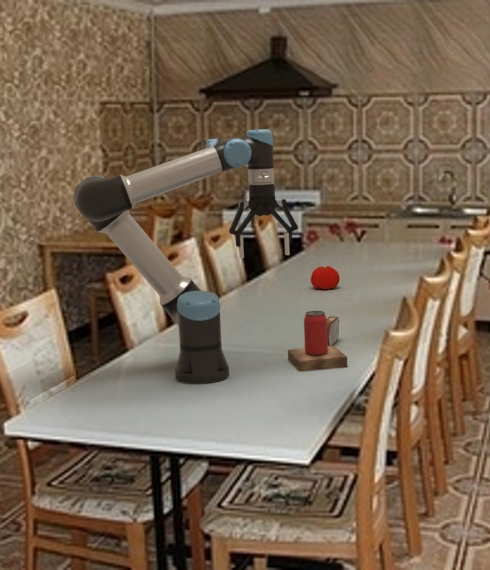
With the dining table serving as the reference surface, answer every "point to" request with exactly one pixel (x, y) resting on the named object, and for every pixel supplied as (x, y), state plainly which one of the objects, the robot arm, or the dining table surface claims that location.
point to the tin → (332, 330)
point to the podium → (317, 359)
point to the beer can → (315, 333)
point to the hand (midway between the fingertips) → (264, 256)
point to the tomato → (325, 278)
